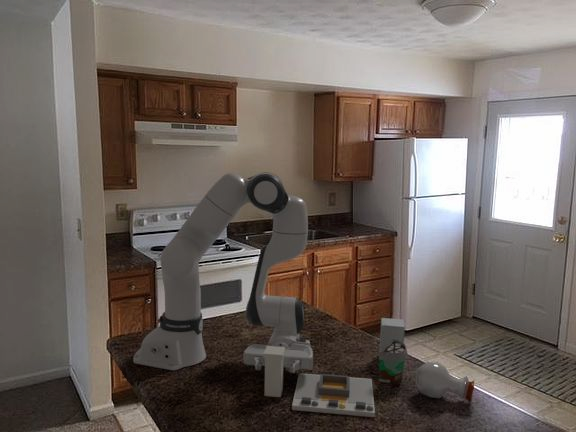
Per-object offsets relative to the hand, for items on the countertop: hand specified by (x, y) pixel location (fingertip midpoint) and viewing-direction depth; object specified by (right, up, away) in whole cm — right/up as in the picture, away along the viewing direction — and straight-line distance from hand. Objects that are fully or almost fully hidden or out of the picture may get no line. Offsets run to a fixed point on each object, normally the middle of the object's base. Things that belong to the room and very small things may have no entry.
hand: (274, 368), depth 129 cm
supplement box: (+37, -5, +23) cm, 44 cm away
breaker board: (+16, -7, -1) cm, 18 cm away
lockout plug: (0, -7, 0) cm, 7 cm away
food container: (+35, -6, +9) cm, 37 cm away
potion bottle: (+46, -8, -1) cm, 47 cm away
